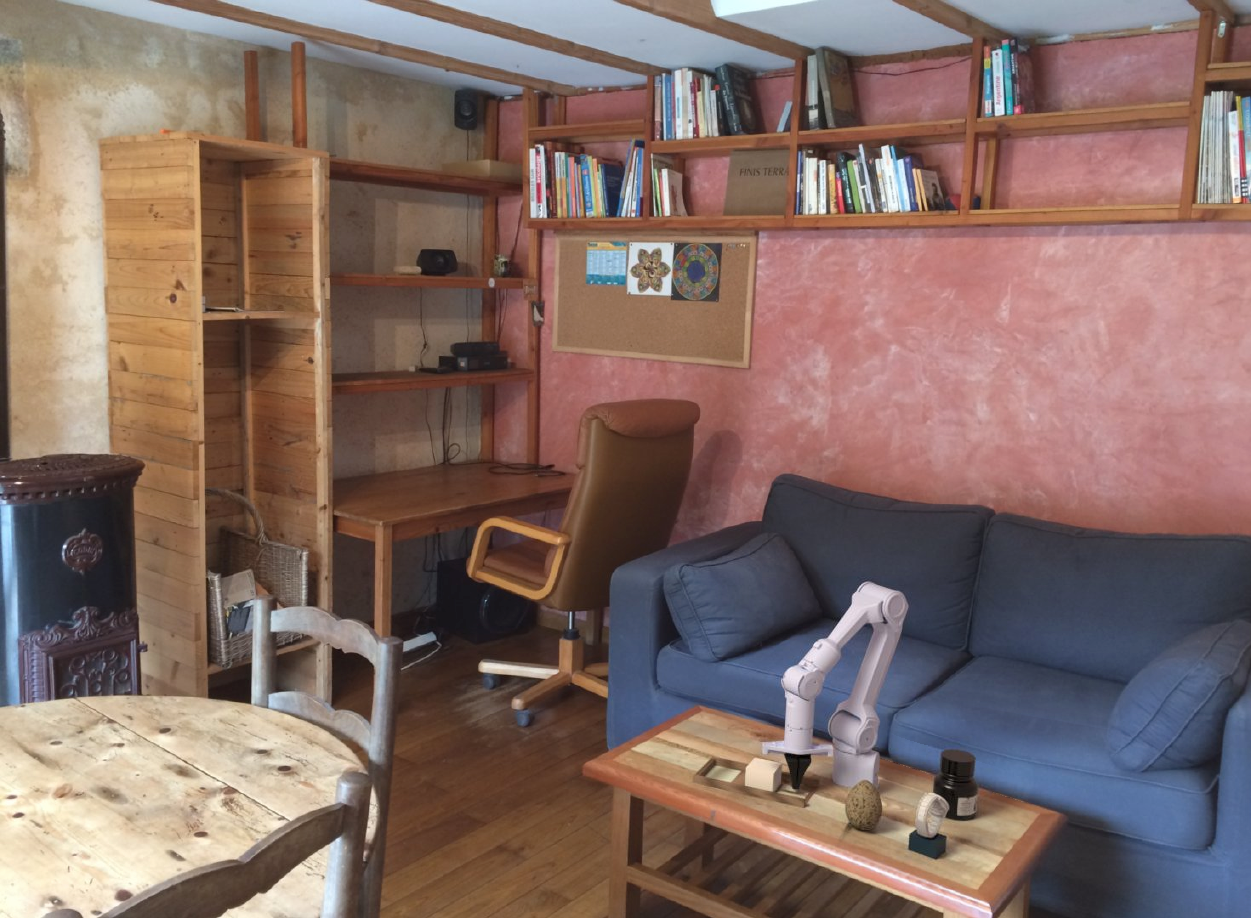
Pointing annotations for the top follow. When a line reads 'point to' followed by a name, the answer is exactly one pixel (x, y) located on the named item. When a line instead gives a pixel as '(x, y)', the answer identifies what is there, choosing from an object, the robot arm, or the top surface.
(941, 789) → the ink bottle
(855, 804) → the decorative egg
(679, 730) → the top surface
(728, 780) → the box
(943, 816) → the watch
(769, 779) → the ivory block
